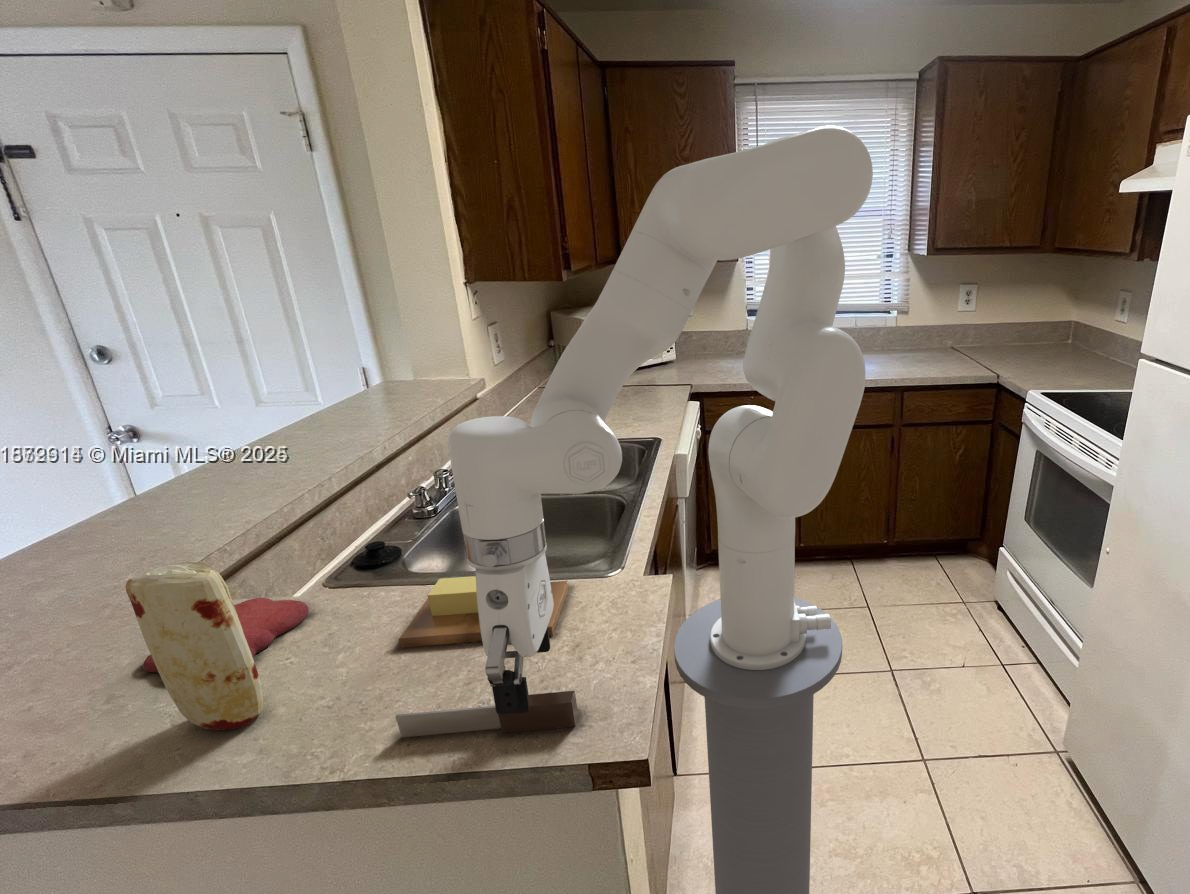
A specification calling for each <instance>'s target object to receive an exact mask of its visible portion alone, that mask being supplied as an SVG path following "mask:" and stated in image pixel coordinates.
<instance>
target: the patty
mask: <svg viewBox="0 0 1190 894" xmlns="http://www.w3.org/2000/svg"><path fill="white" fill-rule="evenodd" d="M234 607H235V610H236V612H237V615H238V618H239V621H240V624H241V626H242V629H243V632H244V635H245V637H246V640H247V643H248V646H249V649H250V651H251V654H252V657H253V659H254V658H255V657H256V654H257V653H259V652H261V651H263V650H264V649H266V648H268V647H269V646H270V645H271V644H272V643H273V642H274V641H275V640H274V639H276V638H277V637H279V636H281V635H283V634H285V633H286V632H289V631H291V630H292V629H294V628H296V627H297V626H298V625H299V624H301V623H302V622H303V621H304V620H306V618H307V617H308V614H309V611H310V610H309V607H308V605H307V604H306V603H304V602H303V601H299V600H295V599H282V600H281V599H279V600H272V599H270V598H267V597H254V598H251V599H246V600H244V601H242V602H239V603H236V604H234ZM142 667H143V669H144V671H146V672H149V673H159V672H158V669H157V667H156V665H155V663H154V660H153V658H152V656H151V654H149V655H148V656H147V657H146V658H145V659H144V661H143V664H142Z"/></svg>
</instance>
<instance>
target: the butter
mask: <svg viewBox="0 0 1190 894" xmlns="http://www.w3.org/2000/svg"><path fill="white" fill-rule="evenodd" d="M427 599H428V600H429V604H430V609H431V613H432V616H441V615H455V614H468V613H478V604H477V592H476V575H473V576H457V577H444V578H443V577H442V578H439V579H437V582H435V584H434V585H433V587H432V588H431V590H430V591H429V592H428V594H427Z"/></svg>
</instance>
